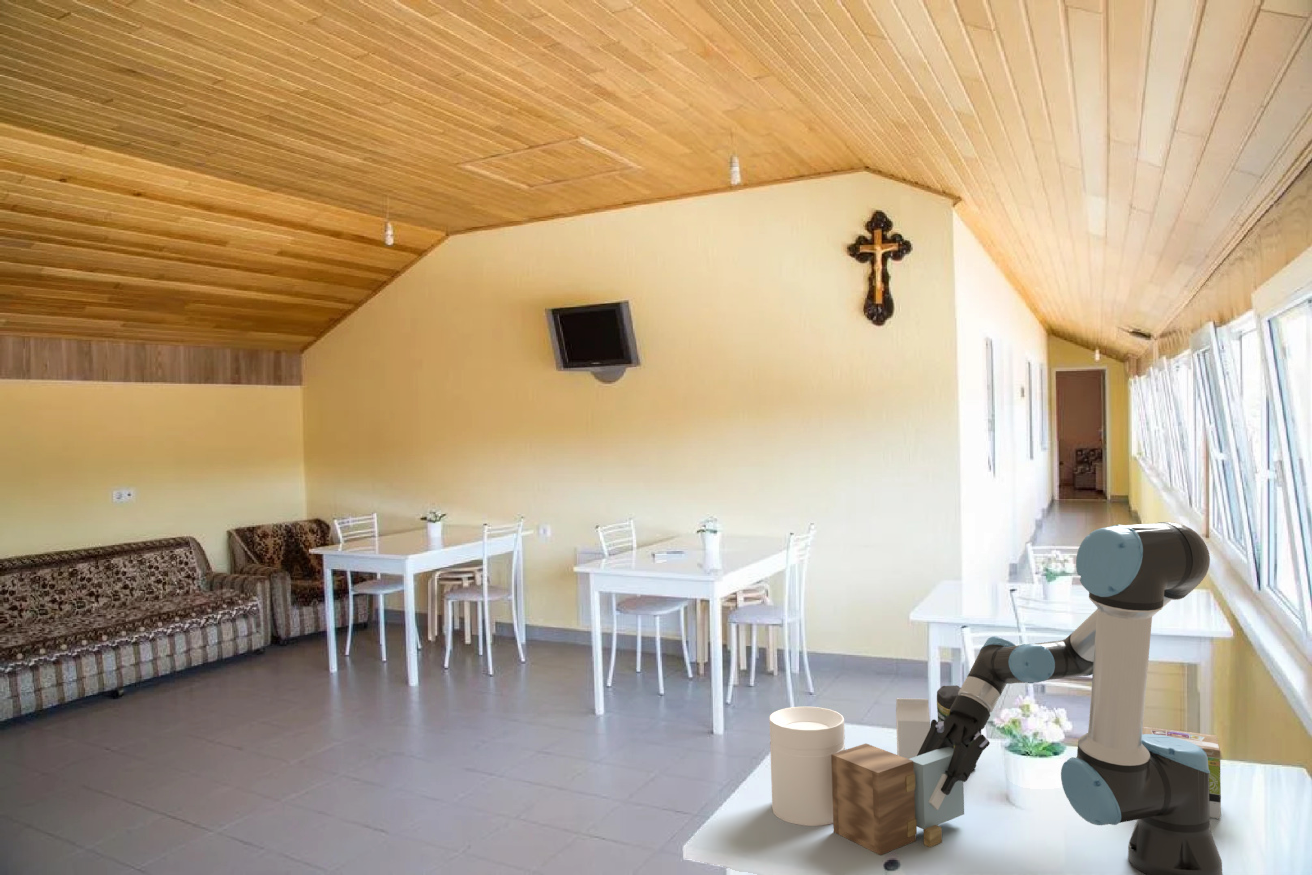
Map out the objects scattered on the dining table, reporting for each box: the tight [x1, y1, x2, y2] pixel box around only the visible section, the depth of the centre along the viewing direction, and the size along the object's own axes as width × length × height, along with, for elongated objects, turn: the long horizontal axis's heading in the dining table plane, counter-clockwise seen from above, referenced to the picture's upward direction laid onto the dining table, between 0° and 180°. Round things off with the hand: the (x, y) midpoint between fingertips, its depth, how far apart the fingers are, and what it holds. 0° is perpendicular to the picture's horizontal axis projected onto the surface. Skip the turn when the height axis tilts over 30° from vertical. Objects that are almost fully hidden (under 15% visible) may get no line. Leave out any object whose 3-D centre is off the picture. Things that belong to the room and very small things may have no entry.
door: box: [909, 747, 965, 830], centre depth 188 cm, size 4×12×13 cm, turn 123°
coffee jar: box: [936, 684, 977, 770], centre depth 222 cm, size 10×8×19 cm
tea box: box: [1142, 725, 1222, 820], centre depth 196 cm, size 15×10×15 cm
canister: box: [769, 706, 846, 827], centre depth 200 cm, size 16×16×20 cm
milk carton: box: [895, 697, 931, 759], centre depth 214 cm, size 7×7×19 cm
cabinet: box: [831, 743, 943, 856], centre depth 186 cm, size 16×14×16 cm
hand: (923, 801), depth 186 cm, fingers open, 4 cm apart
